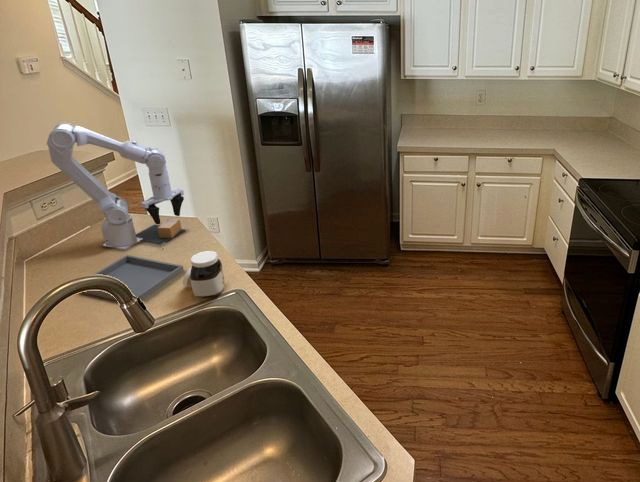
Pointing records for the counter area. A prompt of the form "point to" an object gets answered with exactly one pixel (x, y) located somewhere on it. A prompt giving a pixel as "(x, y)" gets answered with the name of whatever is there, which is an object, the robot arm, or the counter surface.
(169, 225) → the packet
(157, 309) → the counter surface
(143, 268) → the tray
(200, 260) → the spread jar
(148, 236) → the mat
